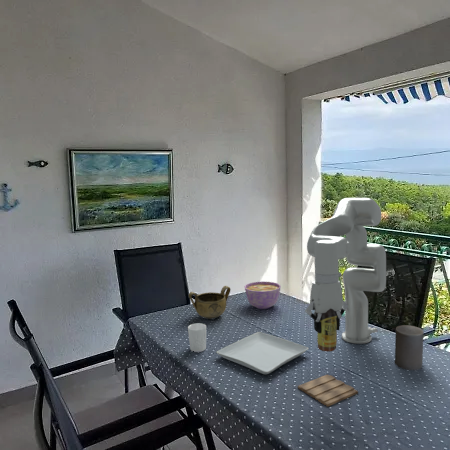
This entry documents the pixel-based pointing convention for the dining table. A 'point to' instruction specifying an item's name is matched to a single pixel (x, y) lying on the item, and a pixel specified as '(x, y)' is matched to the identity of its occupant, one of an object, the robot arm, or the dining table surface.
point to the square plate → (262, 352)
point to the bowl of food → (262, 294)
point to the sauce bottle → (328, 331)
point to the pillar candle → (409, 347)
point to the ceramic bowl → (210, 303)
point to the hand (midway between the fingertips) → (327, 329)
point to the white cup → (197, 337)
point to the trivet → (328, 390)
